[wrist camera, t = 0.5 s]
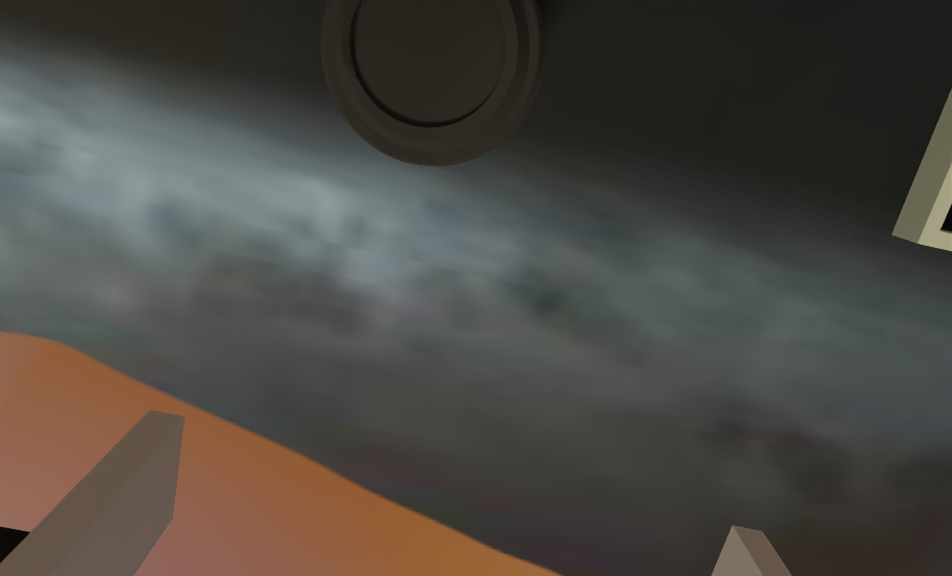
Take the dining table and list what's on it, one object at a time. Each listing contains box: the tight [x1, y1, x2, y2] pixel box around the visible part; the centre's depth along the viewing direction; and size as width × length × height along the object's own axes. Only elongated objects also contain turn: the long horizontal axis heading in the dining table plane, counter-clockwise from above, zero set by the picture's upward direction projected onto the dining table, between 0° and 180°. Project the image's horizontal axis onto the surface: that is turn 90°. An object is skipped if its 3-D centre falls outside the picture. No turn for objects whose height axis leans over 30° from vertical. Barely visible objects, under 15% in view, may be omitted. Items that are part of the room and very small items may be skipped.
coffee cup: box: [321, 0, 546, 166], centre depth 31 cm, size 9×9×15 cm
